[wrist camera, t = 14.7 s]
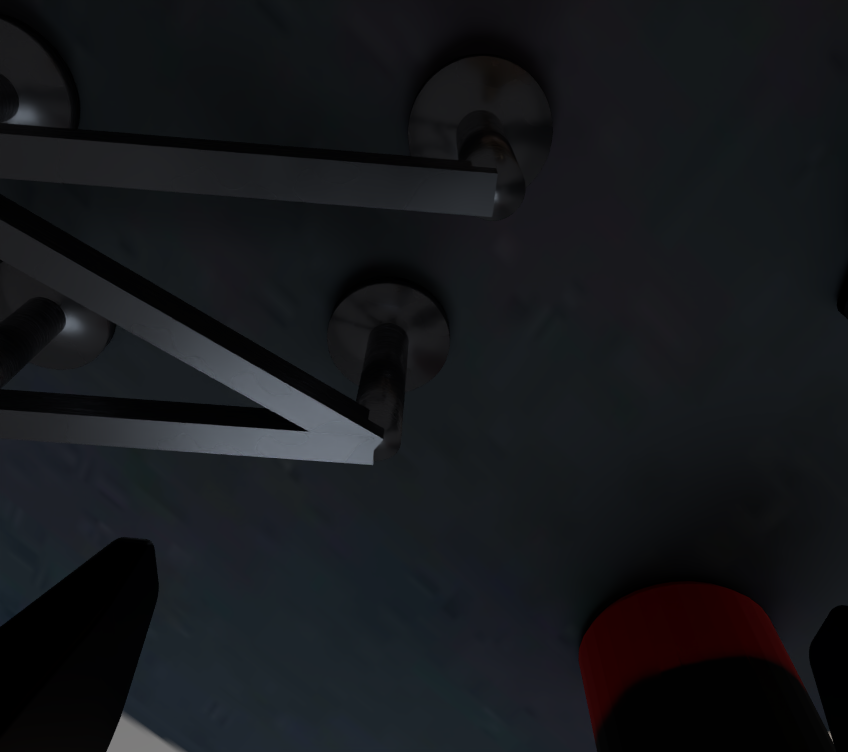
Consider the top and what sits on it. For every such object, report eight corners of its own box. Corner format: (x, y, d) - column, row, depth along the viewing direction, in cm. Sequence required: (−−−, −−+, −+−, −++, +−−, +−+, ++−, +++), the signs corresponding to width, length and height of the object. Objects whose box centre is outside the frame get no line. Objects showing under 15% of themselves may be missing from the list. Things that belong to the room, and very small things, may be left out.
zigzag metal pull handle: (560, 59, 17) (614, 98, 12) (506, 392, 22) (527, 521, 16) (-88, 5, 16) (-324, 20, 11) (8, 355, 21) (-128, 476, 16)
